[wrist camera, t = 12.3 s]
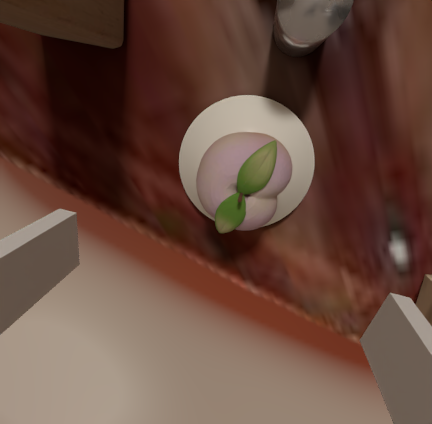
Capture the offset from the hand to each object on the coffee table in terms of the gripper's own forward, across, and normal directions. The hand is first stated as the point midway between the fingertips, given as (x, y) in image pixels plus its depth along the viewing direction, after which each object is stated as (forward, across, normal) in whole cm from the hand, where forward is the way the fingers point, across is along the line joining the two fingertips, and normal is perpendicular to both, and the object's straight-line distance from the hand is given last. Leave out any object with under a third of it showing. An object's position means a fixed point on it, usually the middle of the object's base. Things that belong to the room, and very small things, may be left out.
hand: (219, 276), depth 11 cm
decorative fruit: (+19, 0, 0) cm, 19 cm away
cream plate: (+21, 0, 0) cm, 21 cm away
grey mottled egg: (+21, -2, -14) cm, 25 cm away
